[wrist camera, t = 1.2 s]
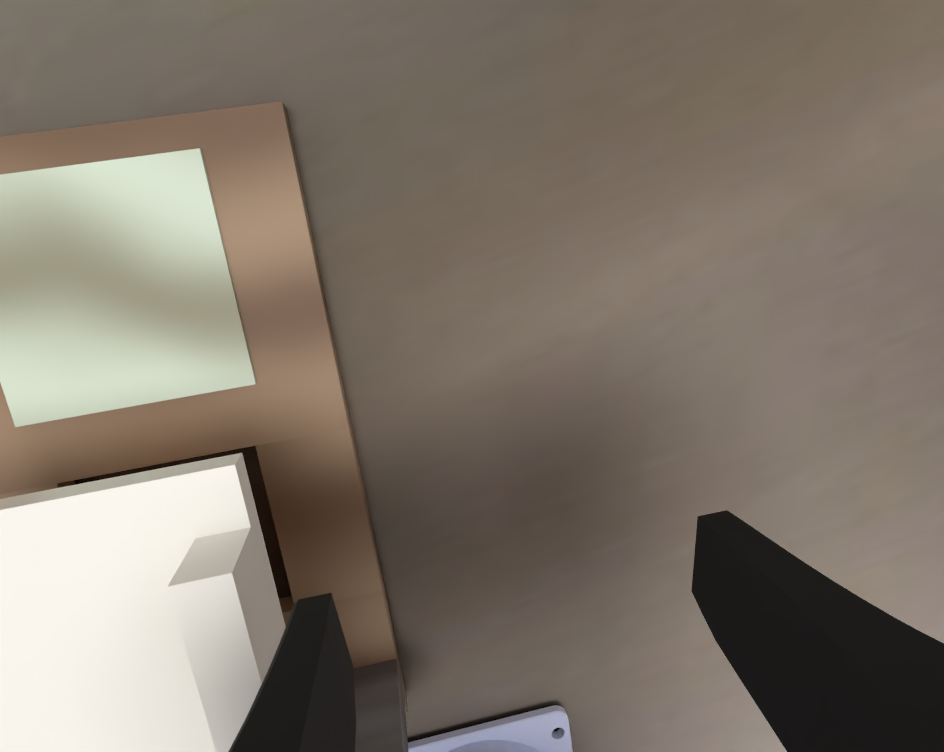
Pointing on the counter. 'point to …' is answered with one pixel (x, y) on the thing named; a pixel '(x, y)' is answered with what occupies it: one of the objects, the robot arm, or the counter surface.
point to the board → (189, 344)
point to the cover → (135, 612)
